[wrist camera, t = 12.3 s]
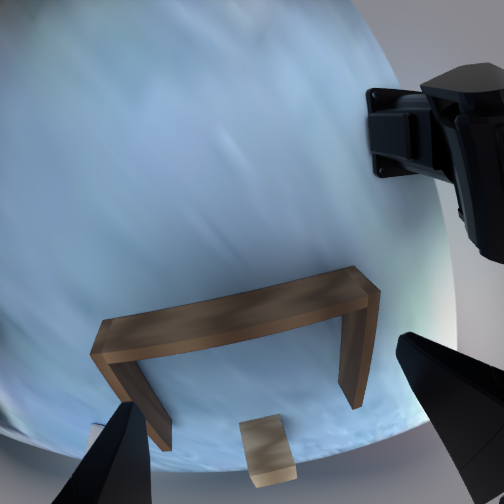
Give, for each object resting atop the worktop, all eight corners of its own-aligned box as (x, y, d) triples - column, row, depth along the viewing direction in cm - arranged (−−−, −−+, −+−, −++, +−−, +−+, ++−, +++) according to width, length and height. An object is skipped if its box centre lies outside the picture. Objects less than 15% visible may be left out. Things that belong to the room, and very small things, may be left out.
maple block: (278, 413, 28) (295, 465, 22) (282, 431, 30) (297, 478, 23) (238, 422, 27) (249, 476, 21) (245, 439, 29) (256, 487, 23)
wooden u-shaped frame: (354, 265, 22) (380, 291, 18) (346, 379, 27) (361, 406, 24) (102, 320, 20) (89, 354, 16) (163, 420, 25) (162, 451, 22)
